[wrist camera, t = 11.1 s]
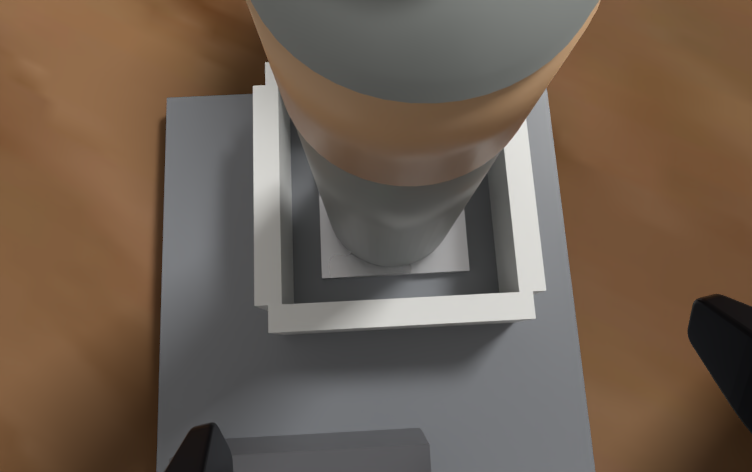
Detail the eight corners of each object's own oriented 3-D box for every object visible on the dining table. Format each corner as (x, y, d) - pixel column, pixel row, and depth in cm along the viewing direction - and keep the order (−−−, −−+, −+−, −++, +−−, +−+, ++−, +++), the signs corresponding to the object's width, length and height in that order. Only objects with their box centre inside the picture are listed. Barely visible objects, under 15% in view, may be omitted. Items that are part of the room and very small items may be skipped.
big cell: (460, 264, 18) (708, 31, 5) (328, 271, 18) (193, 54, 5) (450, 139, 19) (632, -357, 6) (323, 145, 19) (200, -343, 6)
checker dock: (608, 648, 17) (698, 764, 12) (160, 676, 17) (77, 804, 12) (539, 89, 21) (587, 14, 16) (174, 107, 21) (115, 36, 16)
